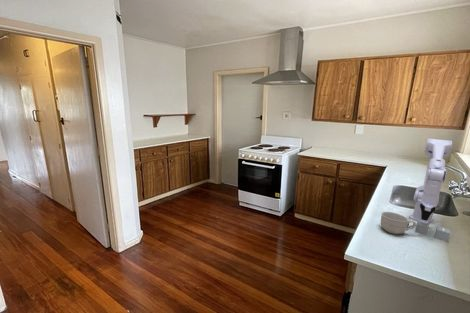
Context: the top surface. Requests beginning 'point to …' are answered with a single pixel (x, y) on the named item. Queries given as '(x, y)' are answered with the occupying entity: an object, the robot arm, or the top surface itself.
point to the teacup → (395, 222)
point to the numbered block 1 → (442, 233)
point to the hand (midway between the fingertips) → (424, 219)
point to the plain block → (422, 228)
